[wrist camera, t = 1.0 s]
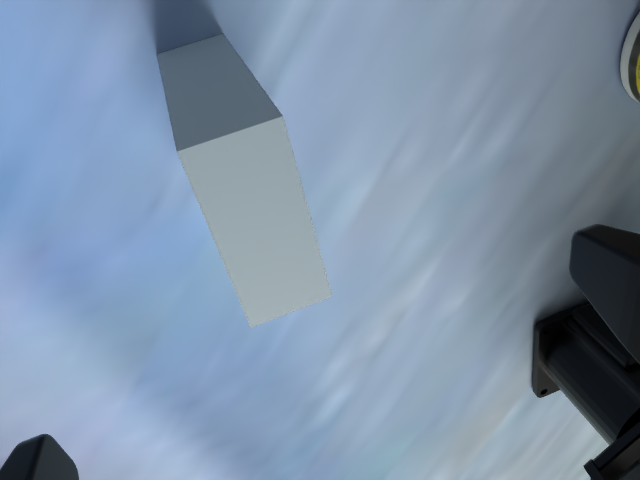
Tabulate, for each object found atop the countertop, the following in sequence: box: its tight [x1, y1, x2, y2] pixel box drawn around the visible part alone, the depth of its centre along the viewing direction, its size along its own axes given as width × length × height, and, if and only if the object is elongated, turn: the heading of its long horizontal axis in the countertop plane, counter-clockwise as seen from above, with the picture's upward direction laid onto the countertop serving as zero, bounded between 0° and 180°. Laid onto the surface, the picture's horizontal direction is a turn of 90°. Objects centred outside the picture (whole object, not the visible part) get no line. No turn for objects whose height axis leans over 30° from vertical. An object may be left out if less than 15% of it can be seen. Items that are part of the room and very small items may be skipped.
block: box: [157, 34, 332, 328], centre depth 15 cm, size 5×2×8 cm, turn 11°
